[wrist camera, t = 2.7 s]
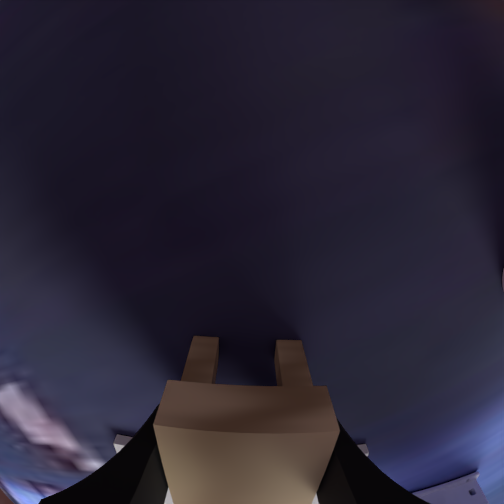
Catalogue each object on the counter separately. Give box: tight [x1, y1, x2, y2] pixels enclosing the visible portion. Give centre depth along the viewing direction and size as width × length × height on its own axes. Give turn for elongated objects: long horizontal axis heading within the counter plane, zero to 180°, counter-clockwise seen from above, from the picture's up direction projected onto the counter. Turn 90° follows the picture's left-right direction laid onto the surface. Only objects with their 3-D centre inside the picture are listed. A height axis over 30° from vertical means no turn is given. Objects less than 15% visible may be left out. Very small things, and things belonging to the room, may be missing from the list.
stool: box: [153, 336, 340, 504], centre depth 12 cm, size 5×5×6 cm
